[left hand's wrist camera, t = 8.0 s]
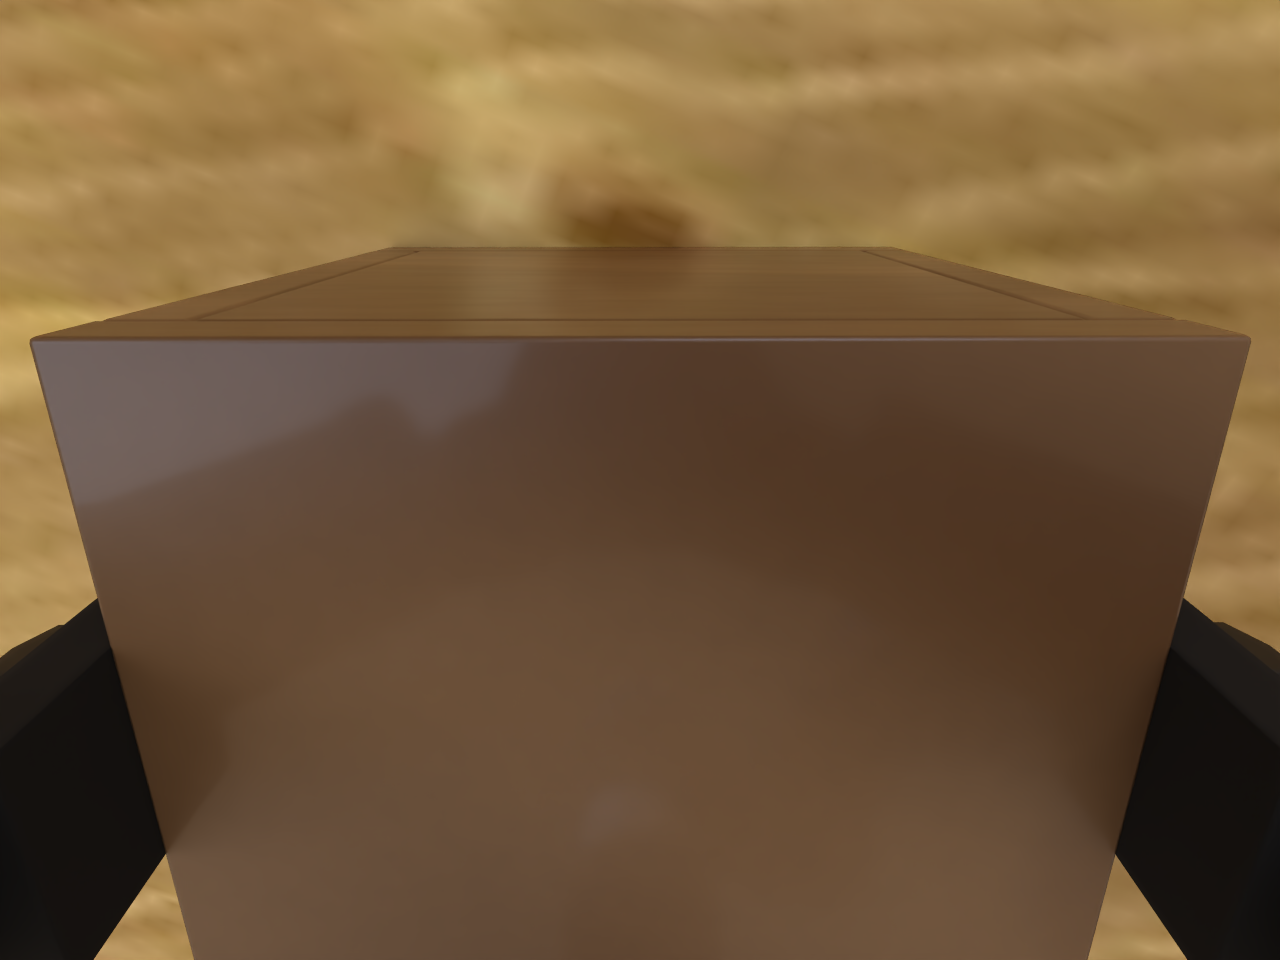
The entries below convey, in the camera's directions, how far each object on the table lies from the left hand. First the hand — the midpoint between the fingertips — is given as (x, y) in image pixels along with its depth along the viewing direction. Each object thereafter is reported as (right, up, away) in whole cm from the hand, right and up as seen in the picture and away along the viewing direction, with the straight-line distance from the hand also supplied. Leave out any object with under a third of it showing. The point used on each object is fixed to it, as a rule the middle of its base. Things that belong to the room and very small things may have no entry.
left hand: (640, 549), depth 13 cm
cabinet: (0, -4, +7) cm, 8 cm away
